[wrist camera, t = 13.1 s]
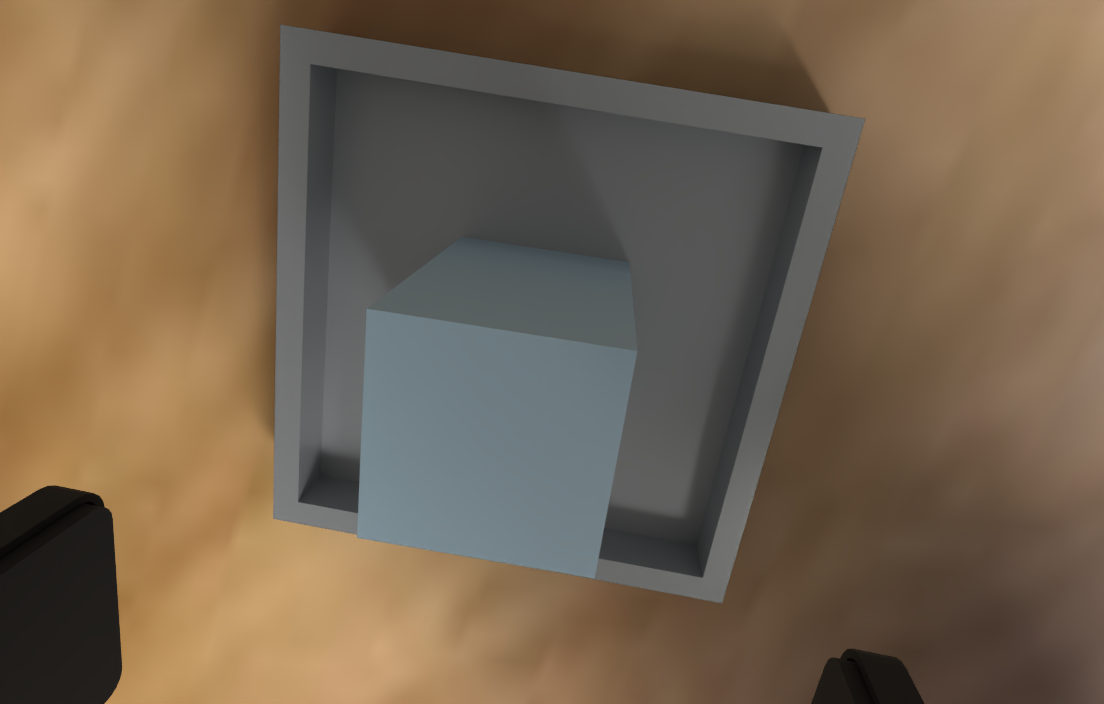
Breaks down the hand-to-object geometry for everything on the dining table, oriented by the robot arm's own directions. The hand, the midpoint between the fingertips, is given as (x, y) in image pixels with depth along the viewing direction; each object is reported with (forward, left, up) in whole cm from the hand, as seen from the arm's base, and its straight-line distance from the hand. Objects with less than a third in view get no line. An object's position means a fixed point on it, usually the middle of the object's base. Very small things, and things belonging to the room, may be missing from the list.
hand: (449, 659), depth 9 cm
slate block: (0, 0, -13) cm, 13 cm away
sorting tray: (0, 0, -14) cm, 14 cm away
